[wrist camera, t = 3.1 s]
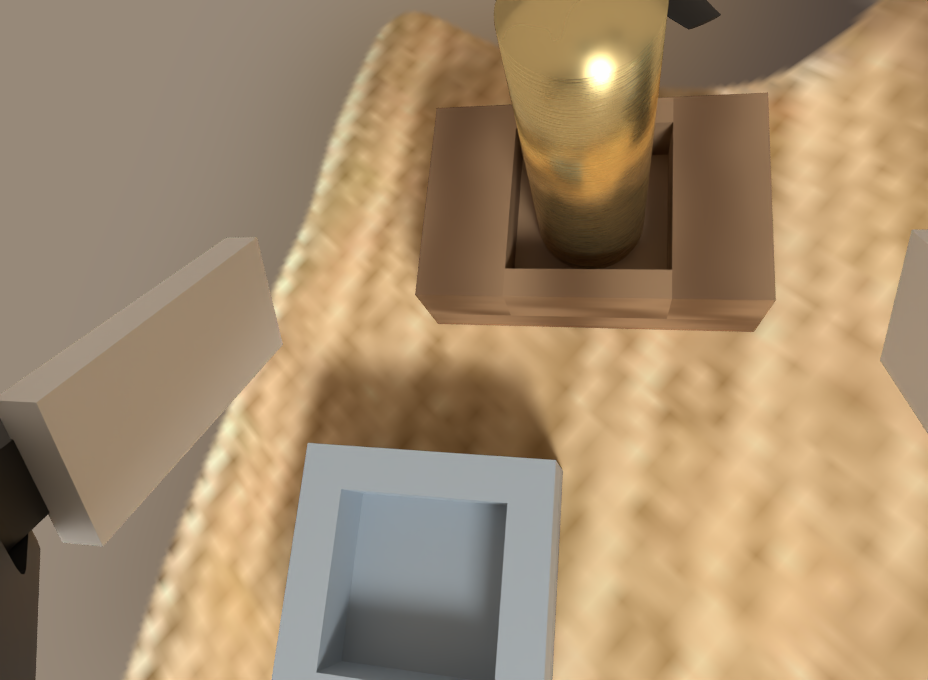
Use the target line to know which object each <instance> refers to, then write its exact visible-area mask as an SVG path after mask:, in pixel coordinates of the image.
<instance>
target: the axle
mask: <svg viewBox="0 0 928 680" xmlns="http://www.w3.org/2000/svg"><path fill="white" fill-rule="evenodd" d="M668 3H669V0H496V3H495V8H494V25H495V30H496V34H497V39H498V43H499V48H500V52H501V57H502V61H503V66H504V71H505V75H506V80H507V84H508V89H509V93H510V98H511V102H512V107H513V111H514V116H515V120H516V125H517V129H518V134H519V138H520V143H521V147H522V152H523V156H524V161H525V165H526V170H527V174H528V179H529V184H530V188H531V193H532V197H533V202H534V206H535V211H536V215H537V220H538V224H539V229H540V233H541V237H542V240H543V242H544V244H545V246H546V248H547V249H548V251H549V252H550V253H551V254H552V255H553V256H554V257H555V258H556V259H558V260H559V261H561V262H562V263H564V264H566V265H569V266H571V267H574V268H579V269H600V268H605V267H608V266H611V265H613V264H615V263H617V262H619V261H620V260H622V259H624V258H625V257H626V256H627V255H628V254H629V253H630V252H631V251H632V250H633V249H634V248H635V246H636V245H637V243H638V241H639V240H640V238H641V235H642V232H643V227H644V219H645V210H646V201H647V192H648V183H649V174H650V165H651V156H652V147H653V138H654V129H655V120H656V111H657V102H658V93H659V84H660V75H661V66H662V57H663V48H664V39H665V30H666V21H667V12H668Z"/></svg>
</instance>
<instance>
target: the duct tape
mask: <svg viewBox="0 0 928 680" xmlns="http://www.w3.org/2000/svg"><path fill="white" fill-rule="evenodd" d="M720 15H721V14H720V13H719V12H718V11H717V10H715V9H714V8H713V7H712V6H711V4H710V3H709V2H708V1H707V0H669V3H668V12H667V17H669V18H670V19H672V20H674V21H675V22H677V23H679V24H680V25H682V26H684V27H685V28H687V29H692V28H695V27H698V26H700V25H703V24H705V23H707V22H709V21H711V20H713V19H715V18H717V17H719V16H720Z"/></svg>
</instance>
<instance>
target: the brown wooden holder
mask: <svg viewBox="0 0 928 680" xmlns="http://www.w3.org/2000/svg"><path fill="white" fill-rule="evenodd" d="M415 295H416V296H417V298H418V299H419V300H420V301H421V303H422V304H423V305H424V306H425V308H426V309H427V310H428V312H429V313H430V314H431V315H432V317H433V318H434V319H435V320H436V322H437V323H438V324H470V325H509V326H548V327H586V328H625V329H664V330H703V331H741V332H754V331H755V329H756V328H757V326H758V325H759V324H760V322H761V321H762V319H763V318H764V316H765V315H766V313H767V312H768V311H769V309H770V308H771V306H772V305H773V303H774V302H775V301H776V298H775V271H774V244H773V217H772V189H771V162H770V135H769V107H768V93H751V94H729V95H708V96H687V97H666V98H658V102H657V111H656V120H655V129H654V138H653V147H652V156H651V165H650V174H649V183H648V192H647V201H646V210H645V219H644V227H643V232H642V235H641V238H640V240H639V241H638V243H637V245H636V246H635V248H634V249H633V250H632V251H631V252H630V253H629V254H628V255H627V256H626V257H625V258H624V259H622V260H620V261H619V262H617V263H615V264H613V265H611V266H608V267H605V268H600V269H579V268H574V267H571V266H569V265H566V264H564V263H562V262H561V261H559V260H558V259H556V258H555V257H554V256H553V255H552V254H551V253H550V252H549V251H548V249H547V248H546V246H545V244H544V242H543V240H542V237H541V233H540V229H539V224H538V220H537V215H536V211H535V206H534V202H533V197H532V193H531V188H530V184H529V179H528V174H527V170H526V165H525V161H524V156H523V152H522V147H521V143H520V138H519V134H518V129H517V125H516V120H515V116H514V111H513V107H512V105H496V106H475V107H453V108H437V112H436V121H435V129H434V138H433V146H432V155H431V164H430V172H429V181H428V189H427V198H426V207H425V215H424V224H423V232H422V241H421V250H420V258H419V267H418V275H417V284H416V293H415Z"/></svg>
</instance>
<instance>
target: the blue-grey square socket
mask: <svg viewBox="0 0 928 680" xmlns="http://www.w3.org/2000/svg"><path fill="white" fill-rule="evenodd" d="M562 475H563V470H562V469H561V467H560V466H559V464H558V463H557V461H556V460H547V459H533V458H518V457H504V456H489V455H475V454H460V453H446V452H431V451H417V450H403V449H388V448H374V447H359V446H345V445H330V444H316V443H308V445H307V451H306V458H305V464H304V471H303V478H302V484H301V491H300V497H299V504H298V510H297V517H296V523H295V530H294V537H293V543H292V550H291V556H290V563H289V569H288V576H287V583H286V589H285V596H284V602H283V609H282V615H281V622H280V629H279V635H278V642H277V648H276V655H275V661H274V668H273V674H272V680H552V676H553V656H554V636H555V615H556V595H557V575H558V555H559V535H560V515H561V495H562Z"/></svg>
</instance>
